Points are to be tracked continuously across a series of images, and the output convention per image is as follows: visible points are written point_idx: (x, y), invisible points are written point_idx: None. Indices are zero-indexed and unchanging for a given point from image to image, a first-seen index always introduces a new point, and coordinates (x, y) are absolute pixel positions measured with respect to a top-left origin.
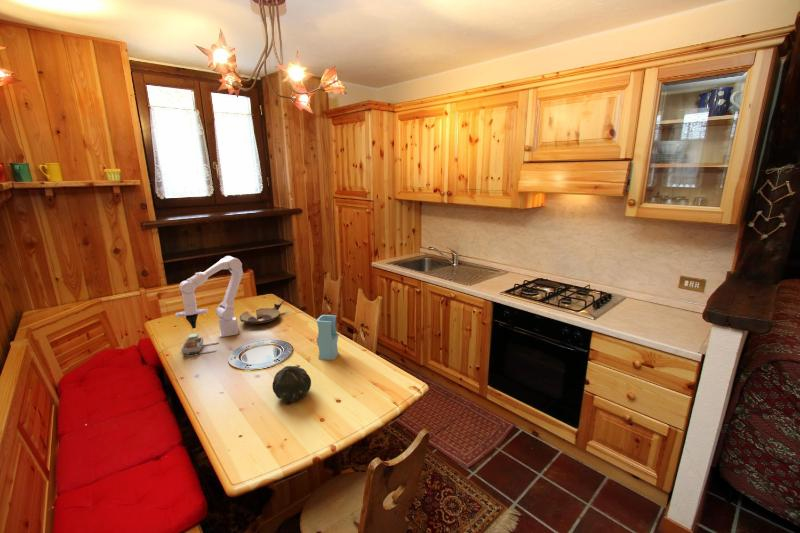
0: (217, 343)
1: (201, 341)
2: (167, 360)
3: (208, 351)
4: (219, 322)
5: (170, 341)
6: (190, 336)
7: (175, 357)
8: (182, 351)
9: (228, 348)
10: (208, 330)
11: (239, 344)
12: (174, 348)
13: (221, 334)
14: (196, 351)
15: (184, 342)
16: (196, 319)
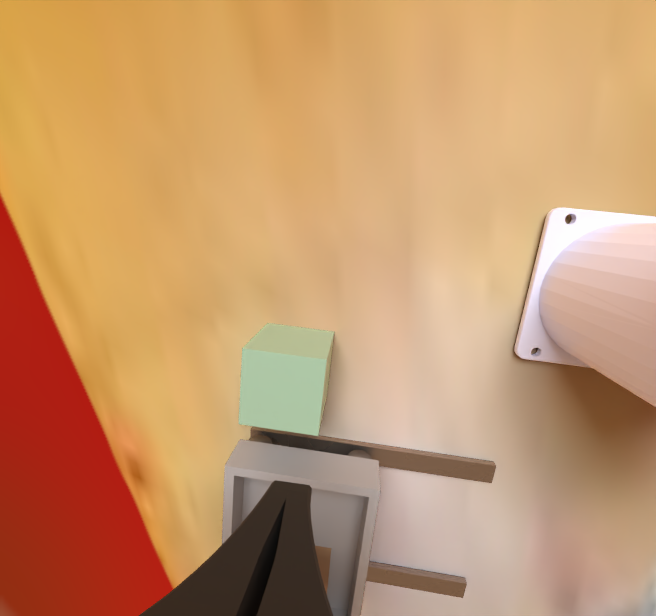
0: (483, 480)
1: (368, 557)
2: (157, 548)
3: (409, 578)
4: (654, 381)
5: (93, 224)
6: (259, 409)
7: (197, 534)
8: None
9: (551, 588)
10: (419, 99)
11: (646, 569)
12: (159, 388)
13: (543, 325)
14: None
15: (223, 517)
16: (321, 604)
